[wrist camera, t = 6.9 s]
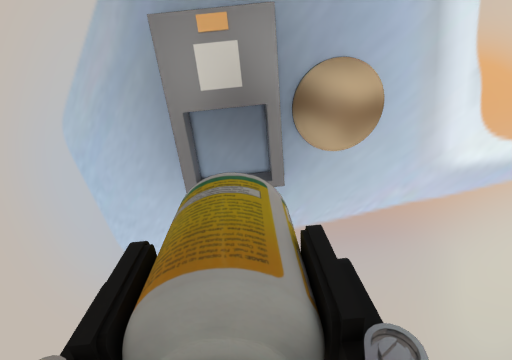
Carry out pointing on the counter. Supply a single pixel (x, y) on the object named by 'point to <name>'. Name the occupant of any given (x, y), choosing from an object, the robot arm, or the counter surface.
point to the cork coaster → (338, 103)
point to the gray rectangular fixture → (219, 73)
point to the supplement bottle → (227, 281)
